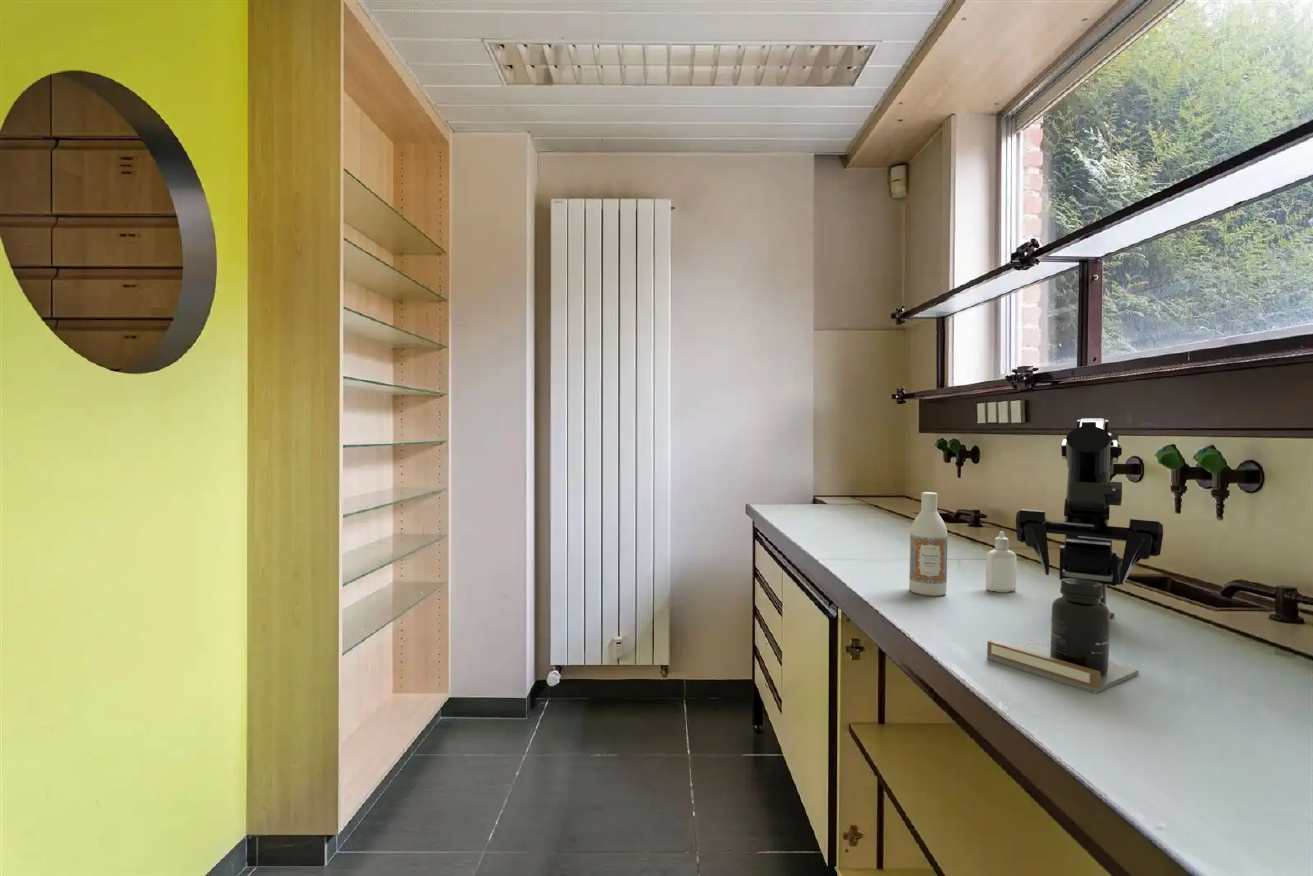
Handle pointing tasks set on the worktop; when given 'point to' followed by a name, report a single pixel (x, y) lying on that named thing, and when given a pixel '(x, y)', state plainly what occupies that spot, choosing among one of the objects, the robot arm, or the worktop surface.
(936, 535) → the bath foam
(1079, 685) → the shelf board
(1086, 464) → the robot arm
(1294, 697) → the worktop surface
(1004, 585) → the eye dropper bottle
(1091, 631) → the supplement bottle
